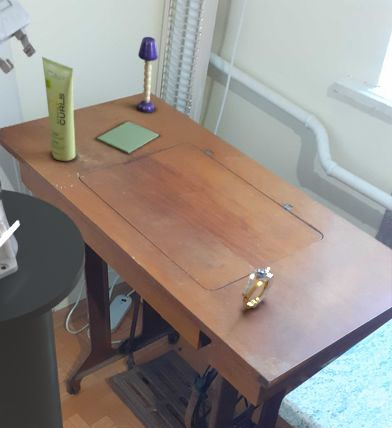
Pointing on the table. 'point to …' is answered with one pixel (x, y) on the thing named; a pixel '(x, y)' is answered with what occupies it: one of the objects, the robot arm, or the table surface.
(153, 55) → the toy lamp
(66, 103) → the tube
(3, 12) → the robot arm
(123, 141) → the mat
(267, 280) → the ring
